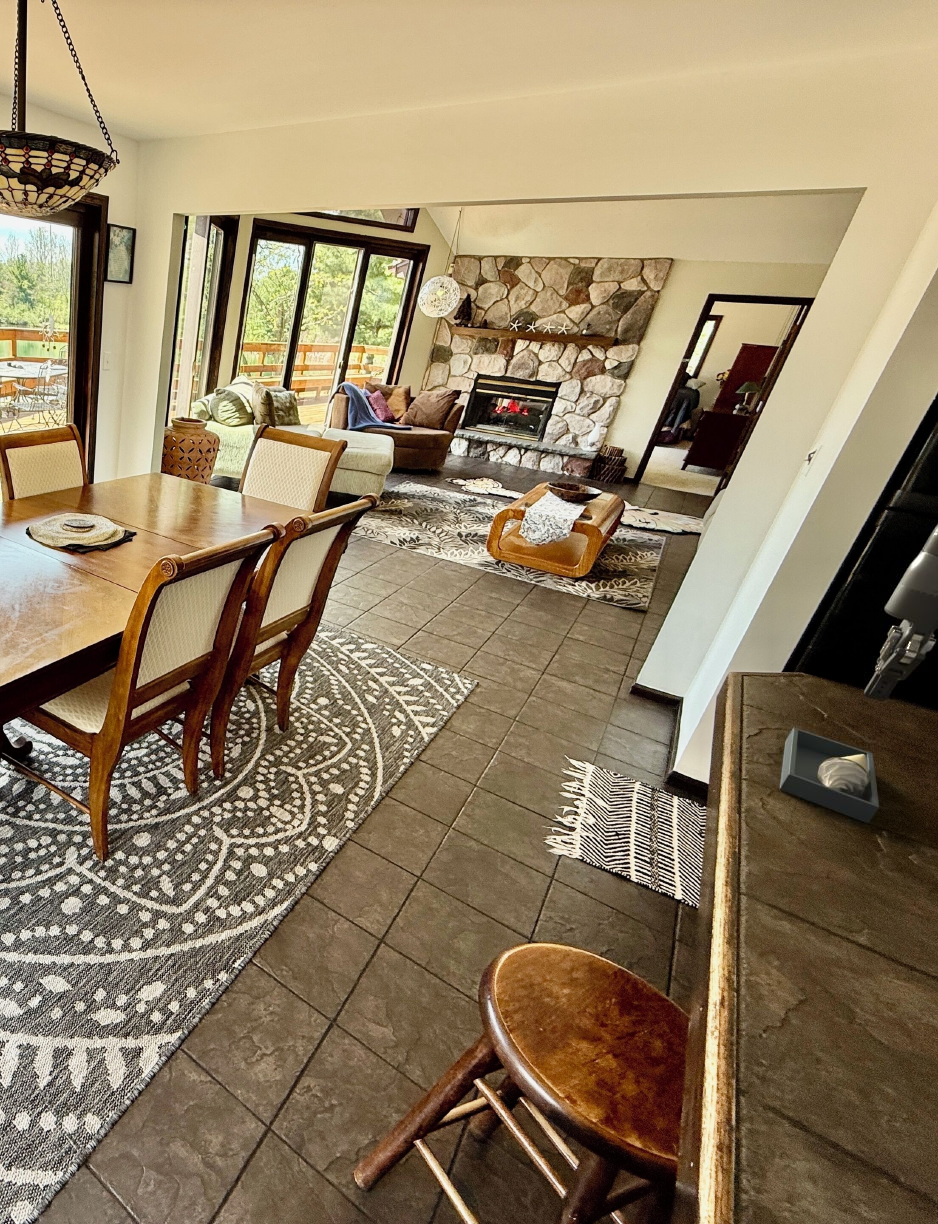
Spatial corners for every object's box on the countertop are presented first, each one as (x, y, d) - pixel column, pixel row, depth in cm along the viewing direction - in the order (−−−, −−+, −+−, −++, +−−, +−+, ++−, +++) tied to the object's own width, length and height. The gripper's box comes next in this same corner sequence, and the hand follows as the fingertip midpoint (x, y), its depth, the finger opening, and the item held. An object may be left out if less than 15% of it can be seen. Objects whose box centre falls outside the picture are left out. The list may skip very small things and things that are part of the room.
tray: (785, 741, 108) (793, 727, 107) (862, 768, 102) (872, 753, 101) (779, 789, 95) (788, 773, 94) (868, 823, 89) (879, 807, 88)
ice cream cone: (893, 749, 95) (858, 784, 89) (881, 777, 97) (846, 814, 91) (845, 734, 99) (808, 767, 93) (834, 761, 101) (797, 796, 95)
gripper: (992, 608, 80) (915, 724, 87) (977, 587, 89) (908, 694, 96) (904, 590, 85) (837, 700, 92) (897, 572, 94) (837, 674, 100)
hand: (873, 697), depth 94 cm, fingers closed
